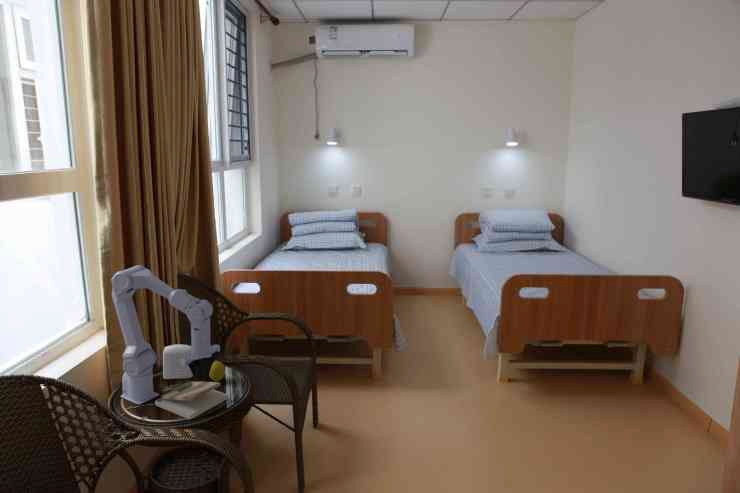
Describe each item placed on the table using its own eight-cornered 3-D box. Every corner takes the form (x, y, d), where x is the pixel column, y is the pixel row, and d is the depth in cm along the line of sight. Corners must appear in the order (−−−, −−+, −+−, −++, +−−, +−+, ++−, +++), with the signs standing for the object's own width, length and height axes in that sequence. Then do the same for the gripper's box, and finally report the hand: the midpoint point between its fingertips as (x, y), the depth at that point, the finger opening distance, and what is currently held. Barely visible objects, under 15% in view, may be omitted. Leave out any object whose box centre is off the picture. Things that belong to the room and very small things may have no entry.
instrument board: (161, 398, 164) (159, 391, 164) (191, 384, 175) (190, 376, 174) (190, 400, 157) (189, 392, 157) (220, 385, 168) (219, 377, 167)
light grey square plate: (155, 405, 163) (154, 398, 163) (193, 386, 177) (193, 380, 176) (190, 419, 156) (190, 412, 155) (227, 398, 169) (227, 392, 169)
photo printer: (194, 373, 187) (193, 342, 184) (192, 378, 182) (192, 346, 180) (164, 375, 184) (163, 343, 182) (162, 380, 180) (161, 347, 178)
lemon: (220, 386, 178) (220, 365, 176) (206, 384, 179) (205, 363, 177) (227, 379, 183) (227, 358, 182) (213, 377, 184) (213, 356, 183)
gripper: (191, 349, 152) (192, 391, 154) (226, 335, 164) (227, 373, 167) (175, 344, 155) (176, 385, 158) (211, 330, 167) (211, 368, 170)
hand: (201, 378), depth 162 cm, fingers open, 3 cm apart
